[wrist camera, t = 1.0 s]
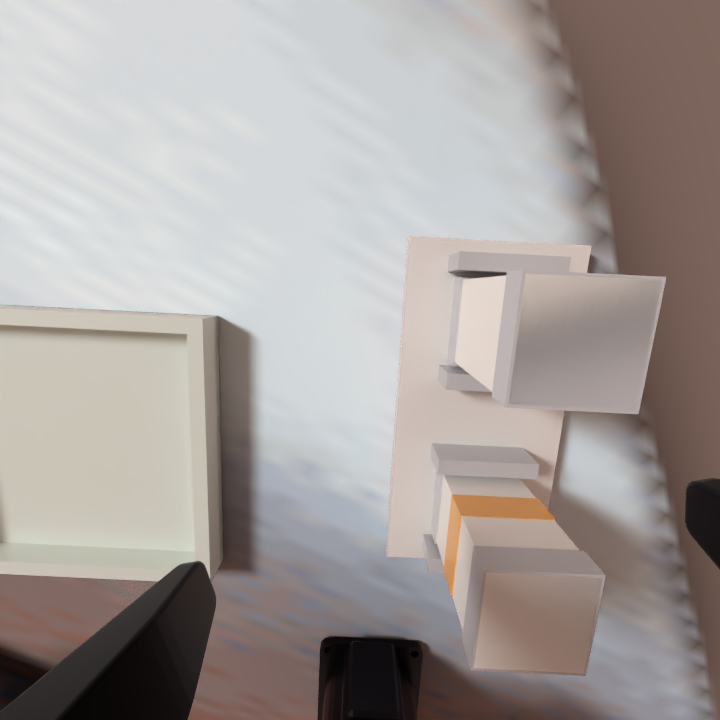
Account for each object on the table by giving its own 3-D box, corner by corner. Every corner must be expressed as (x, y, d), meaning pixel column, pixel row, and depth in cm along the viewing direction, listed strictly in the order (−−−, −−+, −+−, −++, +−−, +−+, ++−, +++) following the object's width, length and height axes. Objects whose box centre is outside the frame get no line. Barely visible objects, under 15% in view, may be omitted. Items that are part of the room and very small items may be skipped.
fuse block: (532, 551, 23) (557, 591, 20) (385, 544, 23) (389, 583, 20) (579, 248, 19) (619, 240, 16) (407, 239, 19) (416, 230, 16)
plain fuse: (526, 363, 19) (638, 414, 12) (446, 359, 19) (504, 407, 12) (537, 282, 19) (666, 277, 11) (454, 278, 19) (522, 269, 11)
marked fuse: (503, 533, 21) (585, 675, 13) (430, 529, 21) (470, 670, 13) (512, 465, 20) (605, 575, 13) (437, 462, 20) (483, 569, 13)
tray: (223, 558, 23) (210, 583, 21) (-20, 546, 23) (-56, 570, 21) (218, 315, 20) (202, 318, 18) (-59, 301, 20) (-105, 303, 18)
